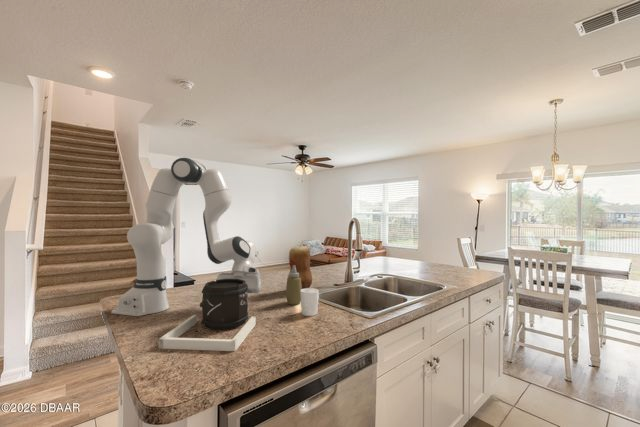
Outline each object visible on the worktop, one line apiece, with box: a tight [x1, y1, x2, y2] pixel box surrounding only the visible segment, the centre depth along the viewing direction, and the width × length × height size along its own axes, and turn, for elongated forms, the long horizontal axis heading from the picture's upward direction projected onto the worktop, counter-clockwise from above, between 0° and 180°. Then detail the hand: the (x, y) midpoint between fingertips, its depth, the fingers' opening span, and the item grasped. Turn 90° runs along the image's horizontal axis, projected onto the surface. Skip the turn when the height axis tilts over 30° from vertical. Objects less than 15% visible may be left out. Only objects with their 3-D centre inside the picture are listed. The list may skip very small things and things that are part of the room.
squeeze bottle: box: [285, 265, 302, 306], centre depth 143 cm, size 8×8×18 cm
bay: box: [158, 314, 257, 352], centre depth 106 cm, size 25×22×3 cm
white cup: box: [300, 287, 320, 317], centre depth 129 cm, size 8×8×10 cm
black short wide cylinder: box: [199, 279, 249, 331], centre depth 118 cm, size 18×18×16 cm
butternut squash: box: [286, 245, 313, 289], centre depth 164 cm, size 14×13×25 cm
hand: (233, 301), depth 127 cm, fingers closed, pressing on black short wide cylinder
